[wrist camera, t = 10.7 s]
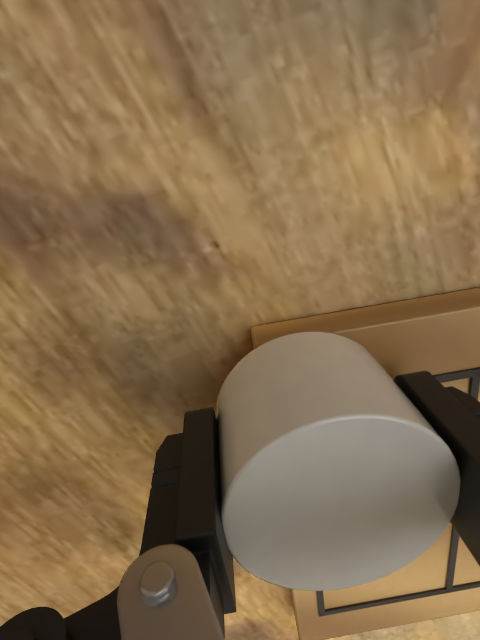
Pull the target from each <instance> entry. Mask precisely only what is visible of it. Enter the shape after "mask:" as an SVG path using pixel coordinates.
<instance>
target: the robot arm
mask: <svg viewBox="0 0 480 640" xmlns="http://www.w3.org/2000/svg"><path fill="white" fill-rule="evenodd" d="M394 381H395V382H396V384H397V385H398V386H399V387H400V388H401V390H402V391H403V392H404V393H405V394H406V396H407V397H408V398H409V399H410V400H411V402H412V403H413V404H414V405H415V406H416V408H417V409H418V410H419V411H420V413H421V414H422V415H423V416H424V417H425V419H426V420H427V421H428V422H429V423H430V425H431V426H432V427H433V428H434V429H435V431H436V432H437V433H438V434H439V435H440V437H441V438H442V439H443V440H444V442H445V443H446V444H447V445H448V446H449V448H450V449H451V451H452V453H453V454H454V456H455V458H456V461H457V464H458V467H459V470H460V477H461V483H460V493H459V500H458V506H457V509H456V512H455V514H454V516H453V518H452V520H451V524H452V525H453V527H454V528H455V530H456V531H457V533H458V534H459V536H460V537H461V539H462V540H463V542H464V543H465V545H466V546H467V548H468V549H469V551H470V552H471V554H472V556H473V557H474V559H475V560H476V562H477V563H478V565H479V566H480V402H479V401H478V400H477V399H476V398H474V397H473V396H471V395H469V394H467V393H465V392H463V391H461V390H459V389H457V388H455V387H453V386H450V387H444V386H443V385H442V384H441V383H440V382H439V381H438V380H437V379H436V378H435V377H434V376H433V375H432V374H431V373H430V372H428V371H420V372H414V373H408V374H402V375H397V376H396V377H395V379H394ZM151 485H152V488H151V490H150V496H149V502H148V508H147V514H146V520H145V527H144V533H143V539H142V545H141V550H140V554H139V557H138V558H137V559H136V560H135V561H134V562H133V563H132V564H131V565H130V566H129V568H128V569H127V571H126V572H125V574H124V575H123V578H122V580H121V582H120V585H119V586H118V587H117V588H116V589H115V590H114V591H112V592H111V593H110V594H108V595H107V596H105V597H104V598H102V599H100V600H98V601H97V602H95V603H93V604H91V605H89V606H87V607H85V608H83V609H81V610H79V611H78V612H76V613H74V614H72V615H70V616H68V617H66V618H64V619H63V618H62V616H61V615H60V614H59V612H58V611H56V610H54V609H53V608H49V607H36V608H31V609H29V610H26V611H23V612H21V613H19V614H18V615H16V616H14V617H13V618H11V619H10V620H8V621H7V622H6V623H5V624H3V625H2V626H1V627H0V640H225V629H224V614H228V613H233V612H236V599H235V585H234V570H233V556H232V554H231V552H230V551H229V549H228V545H227V541H226V537H225V533H224V529H223V525H222V520H221V513H220V490H219V467H218V444H217V421H216V415H215V411H214V408H213V407H211V408H205V409H200V410H194V411H188V412H185V415H184V428H183V433H180V434H174V435H168V436H167V437H166V438H165V440H164V441H163V443H162V444H161V446H160V448H159V449H158V451H157V452H156V459H155V465H154V473H153V477H152V483H151Z"/></svg>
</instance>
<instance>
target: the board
mask: <svg viewBox="0 0 480 640" xmlns="http://www.w3.org/2000/svg"><path fill="white" fill-rule="evenodd" d="M300 332H325V333H332V334H336V335H340V336H343V337H346V338H348V339H351V340H353V341H355V342H357V343H358V344H360V345H362V346H363V347H364V348H365V349H367V350H368V351H369V352H370V353H371V354H372V355H373V356H374V357H375V358H376V359H377V361H378V362H379V363H380V364H381V365H382V367H383V368H384V369H385V370H386V371H387V373H388V374H389V375H390V376H391V377H392V379H393V380H394V379H395V377H396V376H397V375H402V374H408V373H414V372H420V371H428V372H430V373H431V374H432V375H433V376H434V377H435V378H436V379H437V380H438V381H439V382H440V383H441V384H442V385H443V386H444V387H450V386H453V387H455V388H457V389H459V390H461V391H463V392H465V393H467V394H469V395H471V396H473V397H474V398H476V399H477V400H478V401H479V402H480V288H474V289H468V290H463V291H457V292H451V293H445V294H439V295H433V296H428V297H422V298H416V299H410V300H404V301H399V302H393V303H387V304H381V305H375V306H369V307H364V308H358V309H352V310H346V311H340V312H335V313H329V314H323V315H317V316H311V317H306V318H300V319H294V320H288V321H282V322H276V323H271V324H265V325H259V326H253V327H251V333H252V340H253V347H254V349H256V348H257V347H259V346H260V345H262V344H264V343H266V342H268V341H270V340H273V339H276V338H278V337H281V336H285V335H289V334H293V333H300ZM291 595H292V602H293V608H294V614H295V620H296V625H297V630H298V635H299V640H324V639H329V638H335V637H340V636H345V635H351V634H356V633H362V632H367V631H372V630H378V629H383V628H388V627H394V626H399V625H405V624H410V623H415V622H421V621H426V620H432V619H437V618H442V617H448V616H453V615H458V614H464V613H469V612H475V611H480V566H479V565H478V563H477V562H476V560H475V559H474V557H473V556H472V554H471V552H470V551H469V549H468V548H467V546H466V545H465V543H464V542H463V540H462V539H461V537H460V536H459V534H458V533H457V531H456V530H455V528H454V527H453V525H452V524H451V522H450V524H449V525H448V527H447V528H446V530H445V531H444V532H443V534H442V535H441V536H440V537H439V539H438V540H437V541H436V542H435V543H434V544H433V545H432V546H431V547H430V548H429V549H428V550H426V551H425V552H424V553H423V554H422V555H421V556H419V557H418V558H416V559H415V560H414V561H412V562H411V563H409V564H408V565H406V566H404V567H403V568H401V569H399V570H397V571H395V572H393V573H391V574H389V575H387V576H385V577H382V578H380V579H377V580H375V581H372V582H369V583H365V584H362V585H358V586H354V587H350V588H344V589H337V590H327V591H305V590H296V589H291Z"/></svg>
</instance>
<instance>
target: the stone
mask: <svg viewBox="0 0 480 640" xmlns="http://www.w3.org/2000/svg"><path fill="white" fill-rule="evenodd" d="M216 421H217V444H218V467H219V490H220V513H221V520H222V525H223V529H224V533H225V537H226V541H227V545H228V549H229V551H230V552H231V554H232V556H233V557H234V558H235V559H236V561H237V562H238V563H239V564H240V565H241V566H242V567H243V568H245V569H246V570H247V571H248V572H250V573H251V574H253V575H255V576H256V577H258V578H260V579H262V580H264V581H266V582H268V583H271V584H274V585H277V586H281V587H285V588H290V589H296V590H305V591H327V590H337V589H344V588H350V587H354V586H358V585H362V584H365V583H369V582H372V581H375V580H377V579H380V578H382V577H385V576H387V575H389V574H391V573H393V572H395V571H397V570H399V569H401V568H403V567H404V566H406V565H408V564H409V563H411V562H412V561H414V560H415V559H416V558H418V557H419V556H421V555H422V554H423V553H424V552H425V551H426V550H428V549H429V548H430V547H431V546H432V545H433V544H434V543H435V542H436V541H437V540H438V539H439V537H440V536H441V535H442V534H443V532H444V531H445V530H446V528H447V527H448V525H449V524H450V522H451V520H452V518H453V516H454V514H455V512H456V509H457V506H458V500H459V493H460V483H461V477H460V470H459V467H458V464H457V461H456V458H455V456H454V454H453V453H452V451H451V449H450V448H449V446H448V445H447V444H446V443H445V442H444V440H443V439H442V438H441V437H440V435H439V434H438V433H437V432H436V431H435V429H434V428H433V427H432V426H431V425H430V423H429V422H428V421H427V420H426V419H425V417H424V416H423V415H422V414H421V413H420V411H419V410H418V409H417V408H416V406H415V405H414V404H413V403H412V402H411V400H410V399H409V398H408V397H407V396H406V394H405V393H404V392H403V391H402V390H401V388H400V387H399V386H398V385H397V384H396V382H395V381H394V380H393V379H392V377H391V376H390V375H389V374H388V373H387V371H386V370H385V369H384V368H383V367H382V365H381V364H380V363H379V362H378V361H377V359H376V358H375V357H374V356H373V355H372V354H371V353H370V352H369V351H368V350H367V349H365V348H364V347H363V346H362V345H360V344H358V343H357V342H355V341H353V340H351V339H348V338H346V337H343V336H340V335H336V334H332V333H325V332H300V333H293V334H289V335H285V336H281V337H278V338H276V339H273V340H270V341H268V342H266V343H264V344H262V345H260V346H259V347H257V348H256V349H254V350H253V351H251V352H250V353H248V354H247V355H246V356H245V357H244V358H243V359H241V360H240V361H239V362H238V364H237V365H236V366H235V367H234V368H233V369H232V371H231V372H230V373H229V375H228V376H227V378H226V379H225V381H224V383H223V385H222V387H221V390H220V393H219V395H218V399H217V405H216Z"/></svg>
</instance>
